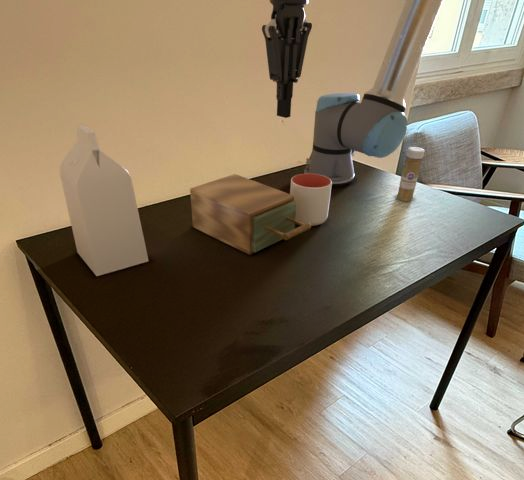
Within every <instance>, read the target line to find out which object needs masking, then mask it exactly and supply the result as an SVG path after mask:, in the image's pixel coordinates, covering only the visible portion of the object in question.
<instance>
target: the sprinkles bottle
mask: <svg viewBox="0 0 524 480" xmlns="http://www.w3.org/2000/svg"><path fill="white" fill-rule="evenodd" d="M424 155H425V149H424V148H422V147H418V146H409V147H407V149H406V153H405V161H404V165H403V168H402V172H401V176H400V180H399V187H398V192H397V194H396V198H397V199H398V200H400V201H405V202H409V201H412V200H413V198H414V192H415V189H416V186H417V183H418V178H419V174H420V170H421V164H422V162H423V158H424V157H425V156H424Z"/></svg>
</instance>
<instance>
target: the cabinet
mask: <svg viewBox="0 0 524 480" xmlns="http://www.w3.org/2000/svg"><path fill="white" fill-rule="evenodd" d="M189 193H190V194H189V195H190V206H191V208H190V209H191V218H192V219H191V220H192V228H194V229H196V230H198V231H200V232H202V233H204V234H206V235H208V236H210V237H212V238H214V239H216V240H218V241H220V242H222V243H224V244H227V245H229V246H231V247H232V248H235V249H237V250H239V251H240V252H243V253H245V254H247V255H249V256H250V255H252V254H254V253H256V252H254V251H252V216H255V215H257V214H260V213H262V212H264V211H267V210H269V209H272V208H274V207H276V206H279V205H281V204H284V203H288V202H290V201H294V196H293V195H291V194H290V193H288V192H285V191H283V190H280V189H277V188H274V187H271V186H269V185H266V184H264V183H261V182H259V181H255V180H252V179H250V178H247V177H245V176H242V175H239V174H236V173H233V174H230V175H228V176H224V177H221V178H218V179H215V180H212V181H209V182H206V183H203V184H199V185H197V186H194V187H191V188H189Z"/></svg>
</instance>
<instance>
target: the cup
mask: <svg viewBox="0 0 524 480" xmlns="http://www.w3.org/2000/svg"><path fill="white" fill-rule="evenodd" d="M332 187H333V186H332V181H331V179H329V178H328V177H326V176H323V175H319V174H304V173H299V174H296V175H294V176H292V177H291V179H290V188H289V194H291V195H293V196H294V201H295V202H297V203H296V216H295V220H297V221H300V222H302V223H305V224H306V223H310V225H311V227H314V226H320V225H322V224H324V223H325V222H326V221H327V219H328V217H329V209H330V201H331V194H332Z"/></svg>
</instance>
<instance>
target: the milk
mask: <svg viewBox="0 0 524 480" xmlns="http://www.w3.org/2000/svg"><path fill="white" fill-rule="evenodd" d="M76 136H77V140H76V141H75V143H74V144H73V145H72V147H71V148H70V149H69V151H68V152H67V154H66V155H65V156H64V158H63V159H62V161H61V162H60V165H59V176H60V179H61V186H62V189H63V193H64V198H65V202H66V206H67V211H68V216H69V221H70V225H71V229H72V235H73V239H74V242H75V243H74V244H75V248H76V253H77V254H78V255H79V257H80V258H81V259H82V260H83V261H84V263H85V264H86V265H87V266H88V268H89V269H90V270H91V271H92V273H93V274H94V275H95V276H96V277H99V276H102V275H105V274H110V273H114V272H116V271H117V272H118V271H120V270H124V269H127V268H130V267H134V266H138V265H140V264H144V263H147V262H150V260H149V257H148V251H147V247H146V241H145V237H144V232H143V227H142V222H141V219H140V213H139V209H138V208H139V207H138V204H137V198H136V194H135V190H134V185H133V180H132V176H131V174H130V173H129V171H128V169H126V168H124V167H123V166H122V165H121V164H119V163H117V162H116V161H115V160H114V159H113V158H111V157H110V156H109V155H107V154H106V153H104V152H103V151H102V150H101V149H100V146H99V145H100V144H99V142H98V138H97V135H96V132H95V131H94V130H93V129H91V128H89V127H88V126H86V125H85V124H78V125H76Z"/></svg>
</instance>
